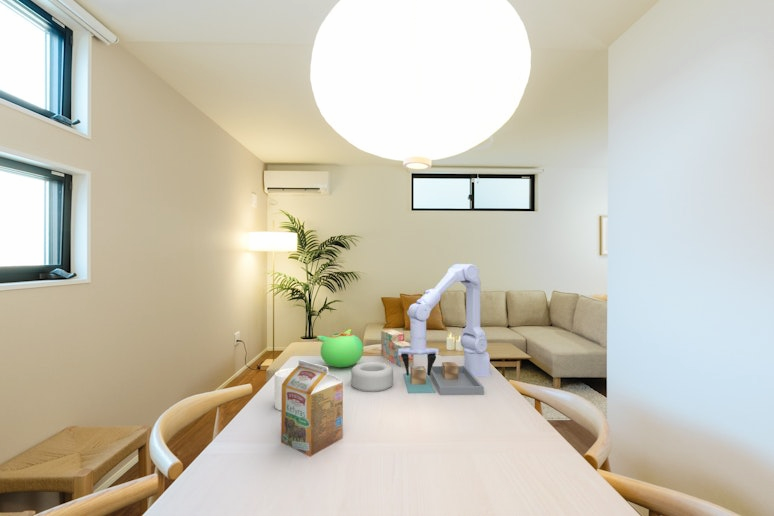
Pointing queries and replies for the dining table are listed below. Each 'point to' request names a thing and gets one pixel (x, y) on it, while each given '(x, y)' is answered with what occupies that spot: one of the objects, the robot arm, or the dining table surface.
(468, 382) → the tray
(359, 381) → the fat ring
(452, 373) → the plain box
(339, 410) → the milk carton
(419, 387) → the teal board
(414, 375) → the labelled box
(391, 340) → the stack of blocks
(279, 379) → the mug
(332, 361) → the toy bird
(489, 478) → the dining table surface
